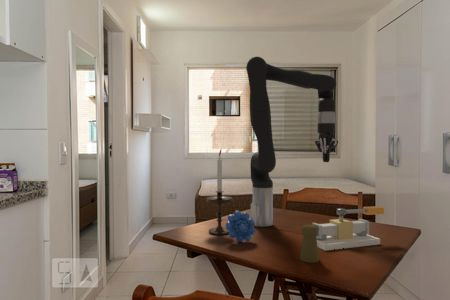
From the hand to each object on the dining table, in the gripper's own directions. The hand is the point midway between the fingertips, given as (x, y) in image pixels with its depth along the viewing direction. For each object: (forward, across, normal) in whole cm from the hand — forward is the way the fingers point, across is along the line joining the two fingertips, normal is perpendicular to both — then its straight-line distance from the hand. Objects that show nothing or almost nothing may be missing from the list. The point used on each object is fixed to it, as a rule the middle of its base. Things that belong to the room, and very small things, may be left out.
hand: (326, 162), depth 154 cm
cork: (+29, -31, +33) cm, 54 cm away
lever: (+19, -22, +2) cm, 29 cm away
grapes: (+29, -6, +45) cm, 54 cm away
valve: (+29, -20, +10) cm, 37 cm away
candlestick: (+29, +11, +46) cm, 56 cm away
